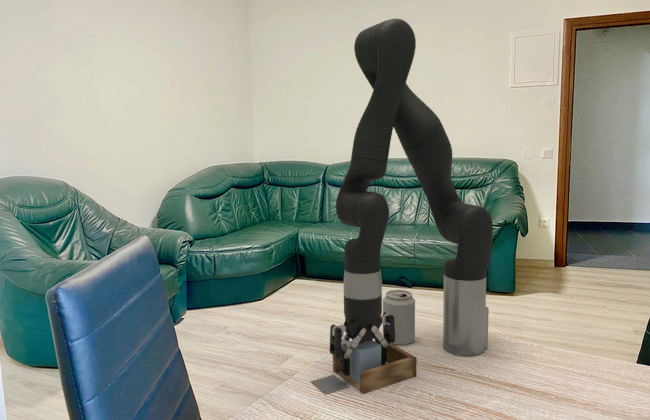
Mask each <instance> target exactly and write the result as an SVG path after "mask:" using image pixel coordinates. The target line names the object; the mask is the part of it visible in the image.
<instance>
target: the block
mask: <svg viewBox="0 0 650 420" xmlns="http://www.w3.org/2000/svg"><path fill="white" fill-rule="evenodd" d="M352 341H353V340H349V342H350V343H351V342H352ZM349 358H350V375H349V377H351V378H352V379H353V380H355V381H356V382H357V383H359V384H360V372H362V371H366V370H369V369H372V368H375V367H379V366H381V345H380V344H378V343H376V342H375V340H374V339H372V341H365V342H364V343H361V344H359V343H358V345H357V347H356V348H355V349H354V350H352V352H351V354H350V356H349Z"/></svg>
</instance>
